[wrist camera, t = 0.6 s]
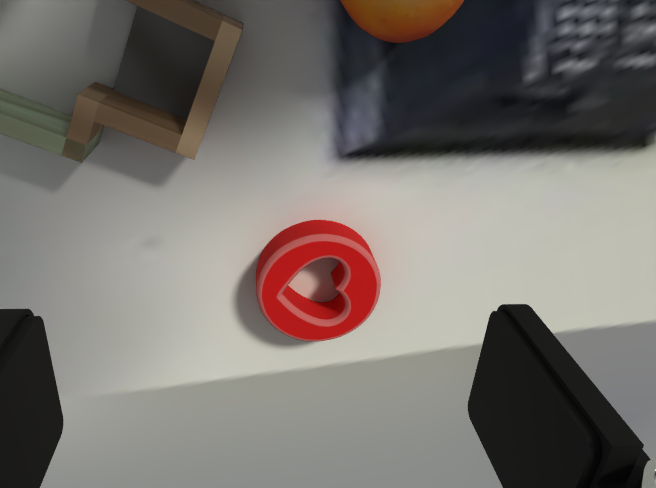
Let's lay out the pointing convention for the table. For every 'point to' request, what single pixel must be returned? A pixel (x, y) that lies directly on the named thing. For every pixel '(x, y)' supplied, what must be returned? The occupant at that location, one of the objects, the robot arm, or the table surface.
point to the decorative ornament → (349, 278)
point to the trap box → (141, 86)
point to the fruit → (400, 17)
